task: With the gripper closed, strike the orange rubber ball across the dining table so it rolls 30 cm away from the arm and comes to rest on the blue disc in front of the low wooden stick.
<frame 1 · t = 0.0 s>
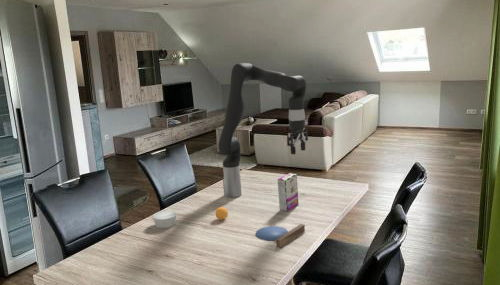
hand: (298, 152, 188), 29 cm above the table, tool pointing down, fingers open, 8 cm apart
ramekin: (165, 225, 187), on the table
ball: (221, 213, 188), on the table
blue disc: (271, 233, 170), on the table
candy bar box: (288, 207, 198), on the table
wooden stick: (291, 238, 163), on the table
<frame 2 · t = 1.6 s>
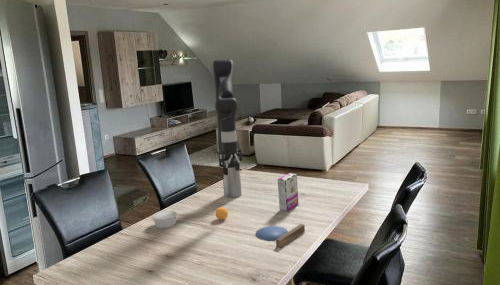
hand: (231, 172, 190), 21 cm above the table, tool pointing down, fingers open, 8 cm apart
nothing on the table moved.
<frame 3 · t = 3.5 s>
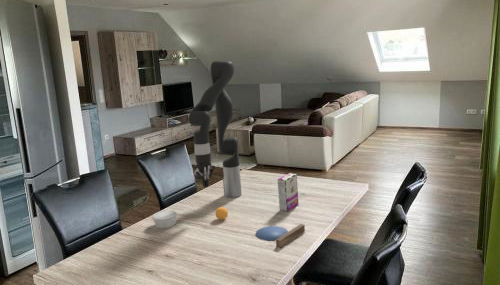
hand: (205, 186, 192), 15 cm above the table, tool pointing down, fingers closed
nothing on the table moved.
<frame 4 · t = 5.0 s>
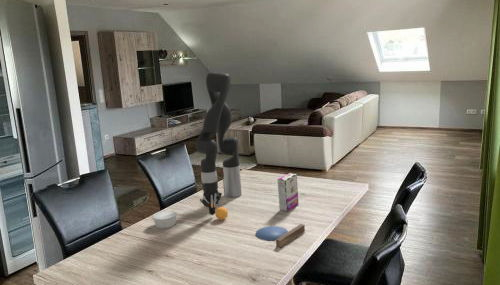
hand: (212, 214, 192), 2 cm above the table, tool pointing down, fingers closed
nothing on the table moved.
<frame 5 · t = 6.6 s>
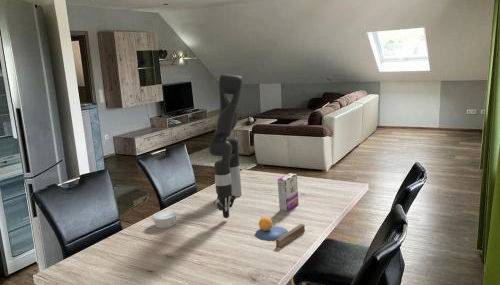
hand: (226, 217, 187), 2 cm above the table, tool pointing down, fingers closed
ball: (265, 223, 172), on the table
everything else where it was.
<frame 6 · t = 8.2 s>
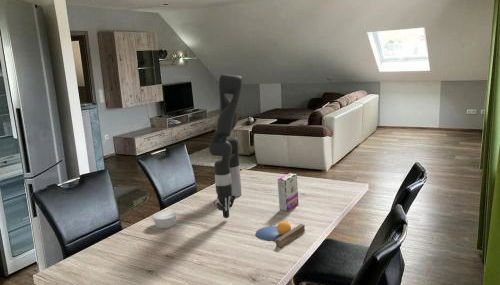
hand: (226, 217, 187), 2 cm above the table, tool pointing down, fingers closed
ball: (284, 228, 167), on the table
everything else where it was.
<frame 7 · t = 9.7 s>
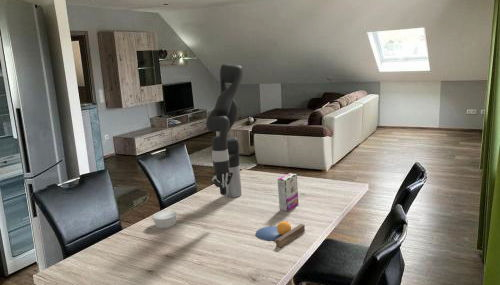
hand: (223, 194, 185), 13 cm above the table, tool pointing down, fingers closed
nothing on the table moved.
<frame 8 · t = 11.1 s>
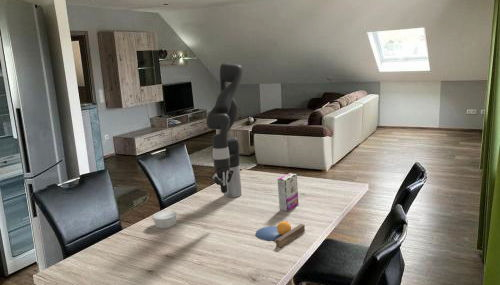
hand: (224, 192, 184), 14 cm above the table, tool pointing down, fingers closed
nothing on the table moved.
at the end: ball 5.8 cm from the blue disc (horizontally); ball at rest at the end (0.0 cm/s); ball moved 35.6 cm from its start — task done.
